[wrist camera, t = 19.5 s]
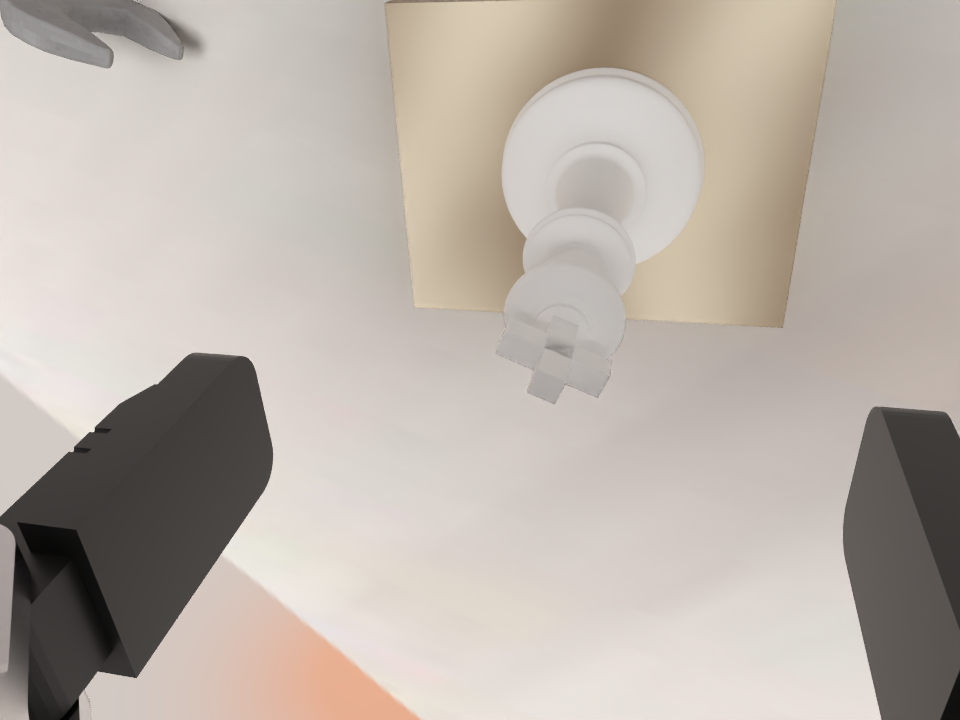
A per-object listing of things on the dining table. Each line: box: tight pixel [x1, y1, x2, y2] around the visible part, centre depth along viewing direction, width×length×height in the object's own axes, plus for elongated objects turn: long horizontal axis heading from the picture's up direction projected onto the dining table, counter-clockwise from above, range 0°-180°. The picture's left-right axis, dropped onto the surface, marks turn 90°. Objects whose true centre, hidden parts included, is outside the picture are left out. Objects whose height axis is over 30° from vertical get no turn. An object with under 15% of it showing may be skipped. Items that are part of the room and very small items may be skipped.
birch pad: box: [385, 0, 837, 328], centre depth 20 cm, size 10×8×1 cm
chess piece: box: [495, 67, 705, 404], centre depth 16 cm, size 5×5×10 cm
